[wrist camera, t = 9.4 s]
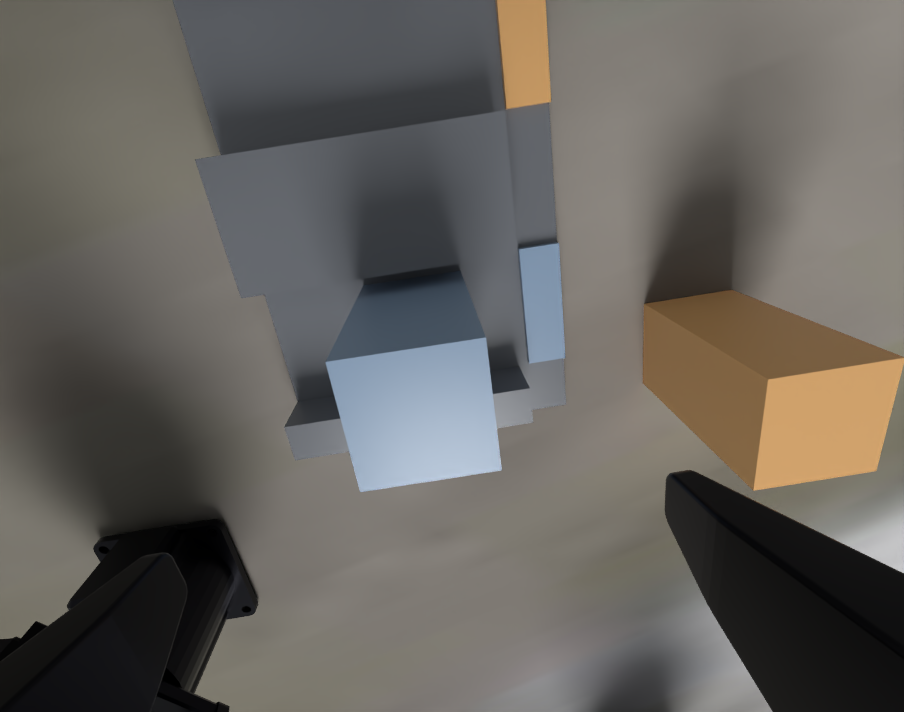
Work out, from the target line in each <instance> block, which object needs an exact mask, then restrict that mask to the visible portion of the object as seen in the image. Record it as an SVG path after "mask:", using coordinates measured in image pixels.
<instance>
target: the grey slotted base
mask: <svg viewBox="0 0 904 712" xmlns="http://www.w3.org/2000/svg"><path fill="white" fill-rule="evenodd" d="M173 3H174V7H175V10H176V13H177V16H178V19H179V23H180V26H181V29H182V32H183V35H184V39H185V42H186V45H187V48H188V51H189V55H190V58H191V61H192V64H193V67H194V71H195V74H196V77H197V80H198V83H199V87H200V90H201V93H202V96H203V100H204V103H205V106H206V109H207V112H208V116H209V119H210V122H211V125H212V128H213V132H214V135H215V138H216V141H217V144H218V148H219V151H220V154H221V155H220V156H214V157H207V158H201V159H195V161H196V164H197V167H198V170H199V173H200V176H201V179H202V182H203V185H204V188H205V191H206V194H207V197H208V200H209V203H210V206H211V209H212V212H213V215H214V218H215V221H216V224H217V227H218V230H219V233H220V236H221V239H222V242H223V245H224V248H225V251H226V254H227V257H228V260H229V263H230V266H231V269H232V272H233V275H234V278H235V281H236V284H237V287H238V290H239V293H240V296H241V298H246V297H252V296H259V295H265V298H266V301H267V304H268V308H269V311H270V314H271V317H272V320H273V324H274V327H275V330H276V333H277V336H278V340H279V343H280V346H281V349H282V352H283V356H284V359H285V362H286V365H287V368H288V372H289V375H290V378H291V381H292V384H293V388H294V391H295V394H296V397H297V400H298V402H297V404H296V406H295V408H294V410H293V412H292V414H291V416H290V417H289V419H288V421H287V423H286V425H285V427H284V428H285V431H286V434H287V437H288V440H289V443H290V446H291V449H292V452H293V455H294V458H295V460H300V459H307V458H313V457H319V456H325V455H332V454H338V453H344V452H349V448H348V445H347V441H346V437H345V433H344V430H343V426H342V422H341V418H340V415H339V411H338V407H337V404H336V400H335V396H334V392H333V389H332V385H331V381H330V378H329V374H328V370H327V366H326V363H325V362H326V360H327V358H328V356H329V354H330V352H331V350H332V348H333V346H334V344H335V342H336V340H337V338H338V336H339V334H340V332H341V330H342V328H343V325H344V323H345V321H346V319H347V317H348V315H349V313H350V311H351V309H352V307H353V305H354V303H355V301H356V299H357V297H358V295H359V293H360V291H361V289H362V287H363V285H370V284H376V283H383V282H389V281H396V280H402V279H409V278H416V277H422V276H429V275H435V274H442V273H448V272H455V271H461V273H462V276H463V278H464V281H465V284H466V286H467V289H468V291H469V294H470V297H471V299H472V302H473V305H474V307H475V310H476V312H477V315H478V318H479V320H480V323H481V326H482V328H483V331H484V333H485V336H486V342H487V350H488V358H489V367H490V375H491V384H492V392H493V400H494V409H495V417H496V426H497V428H501V427H507V426H514V425H520V424H526V423H532V422H533V416H532V410H534V409H540V408H546V407H553V406H559V405H565V404H566V394H565V376H564V359H563V358H565V344H564V326H563V308H562V290H561V272H560V254H559V243H558V242H557V236H556V218H555V201H554V183H553V166H552V148H551V131H550V113H549V102H551V91H550V73H549V55H548V37H547V19H546V1H545V0H173Z"/></svg>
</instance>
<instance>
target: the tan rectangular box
mask: <svg viewBox="0 0 904 712" xmlns="http://www.w3.org/2000/svg"><path fill="white" fill-rule="evenodd" d="M903 364H904V357H902V356H900V355H897V354H895V353H892V352H889V351H887V350H884V349H882V348H879V347H877V346H874V345H872V344H869V343H866V342H864V341H861V340H859V339H856V338H854V337H851V336H849V335H846V334H843V333H841V332H838V331H836V330H833V329H831V328H828V327H826V326H823V325H821V324H818V323H815V322H813V321H810V320H808V319H805V318H803V317H800V316H798V315H795V314H792V313H790V312H787V311H785V310H782V309H780V308H777V307H775V306H772V305H770V304H767V303H764V302H762V301H759V300H757V299H754V298H752V297H749V296H747V295H744V294H741V293H739V292H736V291H734V290H728V291H721V292H715V293H709V294H702V295H696V296H690V297H684V298H677V299H671V300H665V301H659V302H652V303H646V304H644V341H643V384H644V385H645V386H646V387H647V388H648V389H650V390H651V391H652V392H653V393H654V394H655V395H656V396H657V397H658V398H659V399H660V400H661V401H662V402H663V403H664V404H665V405H666V406H667V407H668V408H669V409H670V410H671V411H672V412H673V413H674V414H675V415H676V416H677V417H678V418H679V419H680V420H681V421H682V422H683V423H684V424H686V425H687V426H688V427H689V428H690V429H691V430H692V431H693V432H694V433H695V434H696V435H697V436H698V437H699V438H700V439H701V440H702V441H703V442H704V443H705V444H706V445H707V446H708V447H709V448H710V449H711V450H712V451H713V452H714V453H715V454H716V455H717V456H718V457H719V458H720V459H722V460H723V461H724V462H725V463H726V464H727V465H728V466H729V467H730V468H731V469H732V470H733V471H734V472H735V473H736V474H737V475H738V476H739V477H740V478H741V479H742V480H743V481H744V482H745V483H746V484H747V485H748V486H749V487H750V488H751V489H752V490H753V491H754V490H760V489H766V488H773V487H779V486H785V485H791V484H798V483H804V482H810V481H817V480H823V479H829V478H835V477H842V476H848V475H854V474H860V473H867V472H873V471H876V470H877V466H878V462H879V458H880V454H881V450H882V446H883V443H884V439H885V435H886V431H887V427H888V423H889V419H890V415H891V411H892V407H893V403H894V399H895V396H896V392H897V388H898V384H899V380H900V376H901V372H902V368H903Z"/></svg>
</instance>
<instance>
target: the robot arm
mask: <svg viewBox="0 0 904 712" xmlns="http://www.w3.org/2000/svg"><path fill="white" fill-rule="evenodd" d="M665 515H666V519H667V522H668V524H669V526H670V528H671V530H672V532H673V534H674V536H675V539H676V541H677V543H678V545H679V547H680V549H681V551H682V553H683V555H684V557H685V559H686V561H687V563H688V565H689V568H690V570H691V572H692V574H693V576H694V578H695V580H696V582H697V584H698V586H699V588H700V590H701V592H702V594H703V596H704V598H705V600H706V602H707V604H708V606H709V608H710V609H711V611H712V613H713V615H714V616H715V618H716V620H717V621H718V623H719V625H720V626H721V628H722V629H723V631H724V633H725V634H726V636H727V638H728V639H729V641H730V643H731V644H732V646H733V647H734V649H735V651H736V652H737V654H738V656H739V657H740V659H741V661H742V662H743V664H744V665H745V667H746V669H747V670H748V672H749V674H750V675H751V677H752V679H753V680H754V682H755V683H756V685H757V687H758V688H759V690H760V692H761V693H762V695H763V696H764V698H765V700H766V701H767V703H768V705H769V706H770V708H771V710H772V711H773V712H904V573H902V572H900V571H897V570H895V569H893V568H891V567H889V566H887V565H885V564H883V563H881V562H879V561H877V560H875V559H873V558H871V557H869V556H867V555H865V554H863V553H861V552H859V551H857V550H855V549H852V548H850V547H848V546H846V545H844V544H842V543H840V542H838V541H836V540H834V539H832V538H830V537H828V536H826V535H824V534H822V533H820V532H818V531H816V530H814V529H812V528H809V527H807V526H805V525H803V524H801V523H799V522H797V521H795V520H793V519H791V518H789V517H787V516H785V515H783V514H781V513H779V512H777V511H775V510H773V509H771V508H769V507H766V506H764V505H762V504H760V503H758V502H756V501H754V500H752V499H750V498H748V497H746V496H744V495H742V494H740V493H738V492H736V491H734V490H732V489H730V488H728V487H726V486H723V485H721V484H719V483H717V482H715V481H713V480H711V479H709V478H707V477H705V476H703V475H701V474H699V473H697V472H695V471H691V470H686V471H680V472H673V473H670V474H669V475H668V476H667V478H666V491H665ZM211 529H214V530H216V531H213V530H211ZM93 549H94V552H95V554H96V555H97V557H98V559H99V560H100V564H99V565H98V566H97V567H96V568H95V570H94V571H93V572H92V573H91V575H90V576H89V577H88V578H87V580H86V581H85V582H84V583H83V584H82V586H81V587H80V588H79V589H78V591H77V592H76V593H75V594H74V595H73V597H72V598H71V599H70V601H69V603H68V604H67V608H68V609H69V611H68V612H66V613H65V614H64V615H62V616H61V617H60V618H58V619H57V620H56V621H54V622H53V623H52V624H50V625H49V626H46V625H44V624H42V623H40V622H37V621H36V622H35V623H34V624H33V625H32V626H31V627H30V629H29V630H28V631H27V632H26V633H25V634H24V636H23V637H22V638H18V637H14V638H11V639H0V712H229V706H228V705H225V704H223V703H221V702H217V703H214V702H212V701H210V700H207V699H205V698H203V697H201V696H198V695H196V694H194V693H195V691H196V688H197V686H198V684H199V681H200V679H201V677H202V675H203V672H204V670H205V668H206V665H207V663H208V661H209V658H210V656H211V654H212V651H213V649H214V647H215V644H216V642H217V640H218V638H219V635H220V633H221V631H222V628H223V626H224V624H225V621H226V619H232V618H238V617H244V616H250V615H253V614H254V613H255V611H256V608H257V606H258V601H257V599H256V596H255V594H254V592H253V590H252V587H251V585H250V583H249V580H248V578H247V576H246V573H245V571H244V569H243V566H242V564H241V562H240V559H239V557H238V555H237V553H236V550H235V548H234V546H233V543H232V541H231V539H230V536H229V534H228V532H227V529H226V527H225V525H224V524H223V523H222V522H221V521H219V520H206V521H200V522H194V523H187V524H181V525H175V526H167V527H161V528H155V529H149V530H142V531H136V532H130V533H125V534H118V535H112V536H106V537H102V538H101V539H100V540H99V541H98V542H97V543H96V544H95V545H94V548H93Z"/></svg>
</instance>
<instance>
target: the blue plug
mask: <svg viewBox="0 0 904 712" xmlns="http://www.w3.org/2000/svg"><path fill="white" fill-rule="evenodd" d="M325 363H326V366H327V370H328V374H329V378H330V381H331V385H332V389H333V392H334V396H335V400H336V404H337V407H338V411H339V415H340V418H341V422H342V426H343V430H344V433H345V437H346V441H347V445H348V448H349V452H350V456H351V459H352V463H353V467H354V471H355V474H356V478H357V482H358V485H359V489H360V492H365V491H371V490H377V489H384V488H390V487H397V486H403V485H410V484H416V483H423V482H429V481H436V480H442V479H449V478H455V477H462V476H468V475H475V474H481V473H488V472H494V471H501V470H502V468H501V459H500V451H499V443H498V434H497V426H496V417H495V409H494V400H493V392H492V384H491V375H490V367H489V358H488V350H487V342H486V336H485V333H484V331H483V328H482V326H481V323H480V320H479V318H478V315H477V312H476V310H475V307H474V305H473V302H472V299H471V297H470V294H469V291H468V289H467V286H466V284H465V281H464V278H463V276H462V273H461V271H455V272H448V273H442V274H435V275H429V276H422V277H416V278H409V279H402V280H396V281H389V282H383V283H376V284H370V285H363V287H362V289H361V291H360V293H359V295H358V297H357V299H356V301H355V303H354V305H353V307H352V309H351V311H350V313H349V315H348V317H347V319H346V321H345V323H344V325H343V328H342V330H341V332H340V334H339V336H338V338H337V340H336V342H335V344H334V346H333V348H332V350H331V352H330V354H329V356H328V358H327V360H326V362H325Z"/></svg>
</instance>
